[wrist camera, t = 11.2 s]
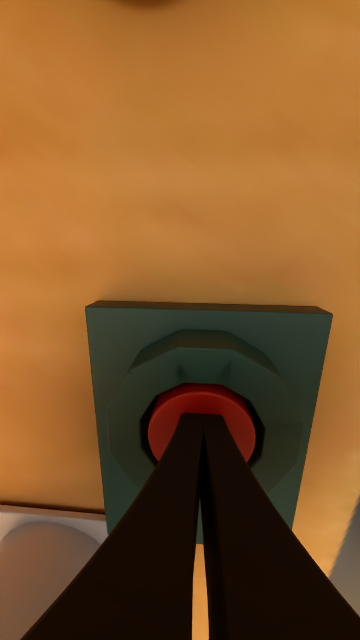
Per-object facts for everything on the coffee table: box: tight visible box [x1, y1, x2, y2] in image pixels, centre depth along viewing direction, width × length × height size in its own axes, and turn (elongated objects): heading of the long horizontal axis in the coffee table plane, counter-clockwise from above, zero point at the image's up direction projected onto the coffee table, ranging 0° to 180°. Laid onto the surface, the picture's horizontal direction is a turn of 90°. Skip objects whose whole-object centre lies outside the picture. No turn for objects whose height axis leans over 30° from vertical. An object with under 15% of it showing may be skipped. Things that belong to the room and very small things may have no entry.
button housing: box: [85, 301, 333, 544], centre depth 10 cm, size 12×9×3 cm
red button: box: [148, 382, 256, 462], centre depth 9 cm, size 4×4×2 cm
